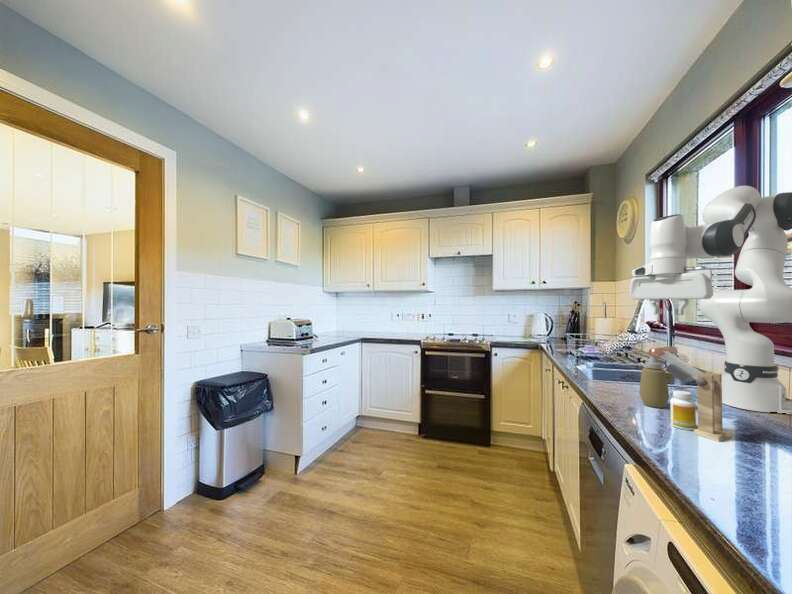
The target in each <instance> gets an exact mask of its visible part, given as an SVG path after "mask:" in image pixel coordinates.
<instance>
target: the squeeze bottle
mask: <svg viewBox="0 0 792 594" xmlns="http://www.w3.org/2000/svg"><path fill="white" fill-rule="evenodd" d="M640 373H641V375H640V382H639V392H638V393H639V395H640V399H641V401H642V404H643V405H644V406H646V407H650V408H657V409H661V408H662V409H663V408H666V406H667V403H668V401H669V399H670V394H669V386H668V379H667V371H665V370H664V369H663V363H661V362H659V361H658V356H657V357H652V356H650V355H649V360H648V361H644V368H642V369H641V372H640Z"/></svg>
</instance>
